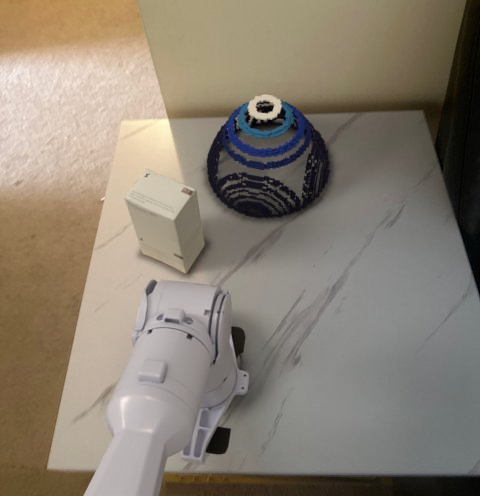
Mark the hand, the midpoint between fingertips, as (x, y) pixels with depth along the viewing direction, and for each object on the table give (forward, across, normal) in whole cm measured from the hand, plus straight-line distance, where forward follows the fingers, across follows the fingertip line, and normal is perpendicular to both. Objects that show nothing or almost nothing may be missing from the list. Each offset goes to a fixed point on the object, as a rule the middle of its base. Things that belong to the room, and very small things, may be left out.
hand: (217, 403), depth 61 cm
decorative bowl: (+11, +41, 0) cm, 42 cm away
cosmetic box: (+11, +24, +12) cm, 29 cm away
